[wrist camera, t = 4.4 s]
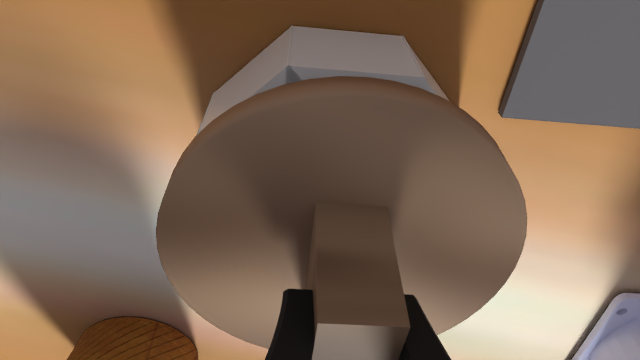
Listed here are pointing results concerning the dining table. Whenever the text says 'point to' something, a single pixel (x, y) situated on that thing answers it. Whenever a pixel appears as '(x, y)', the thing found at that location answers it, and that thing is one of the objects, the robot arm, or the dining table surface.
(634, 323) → the robot arm
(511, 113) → the mat
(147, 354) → the disposable coffee cup
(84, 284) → the dining table surface
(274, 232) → the lid
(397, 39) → the bowl
